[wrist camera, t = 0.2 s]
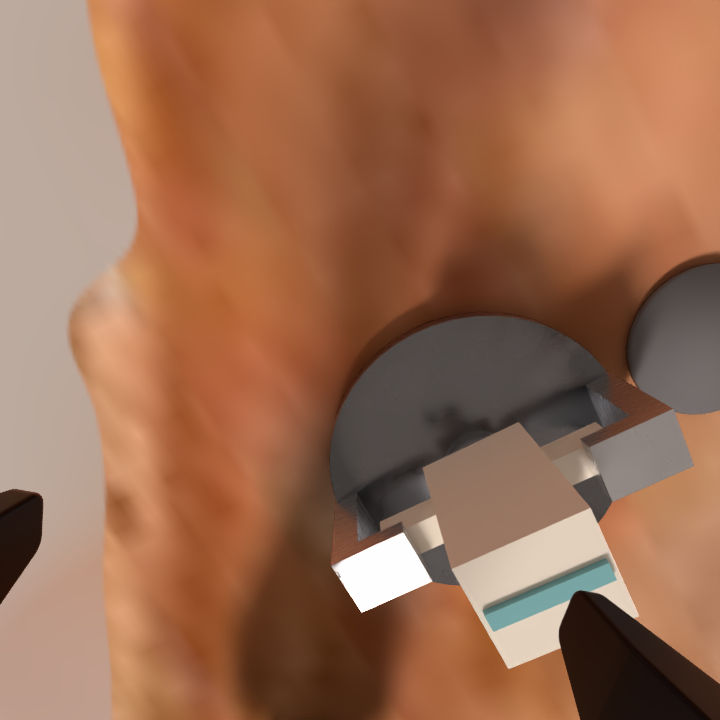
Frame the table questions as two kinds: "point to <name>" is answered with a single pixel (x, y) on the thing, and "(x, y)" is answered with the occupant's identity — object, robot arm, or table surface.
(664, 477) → the lugged metal disc
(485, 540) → the cream block with tab
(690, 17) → the table surface
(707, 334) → the rubber pad
